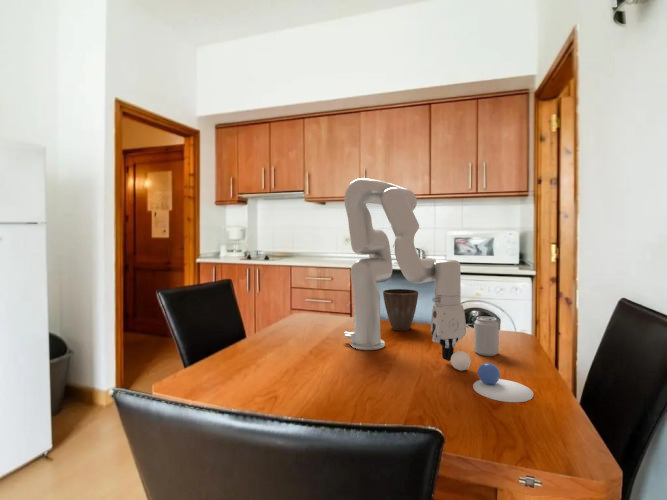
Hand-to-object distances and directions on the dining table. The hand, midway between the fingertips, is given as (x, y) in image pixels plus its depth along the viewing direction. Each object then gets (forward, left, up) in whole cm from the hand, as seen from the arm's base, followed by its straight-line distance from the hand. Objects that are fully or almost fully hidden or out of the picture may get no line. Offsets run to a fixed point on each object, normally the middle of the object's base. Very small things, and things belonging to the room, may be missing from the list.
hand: (447, 359), depth 114 cm
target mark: (+15, -15, -2) cm, 21 cm away
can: (+11, +15, -2) cm, 19 cm away
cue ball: (+4, -4, +1) cm, 6 cm away
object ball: (+12, -12, +1) cm, 17 cm away
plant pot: (-23, +38, -2) cm, 45 cm away
